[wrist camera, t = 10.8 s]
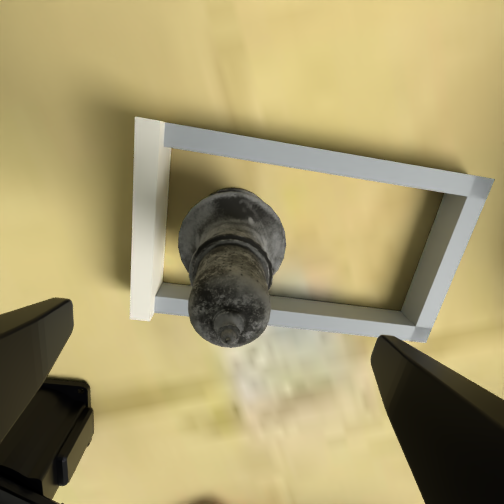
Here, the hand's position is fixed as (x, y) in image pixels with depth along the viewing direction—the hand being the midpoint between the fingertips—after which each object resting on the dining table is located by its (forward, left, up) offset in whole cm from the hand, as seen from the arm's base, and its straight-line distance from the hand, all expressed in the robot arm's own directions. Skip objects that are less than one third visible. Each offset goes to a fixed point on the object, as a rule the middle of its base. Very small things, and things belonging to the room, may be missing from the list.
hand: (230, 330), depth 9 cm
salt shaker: (0, 0, -12) cm, 12 cm away
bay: (+4, 0, -12) cm, 12 cm away
